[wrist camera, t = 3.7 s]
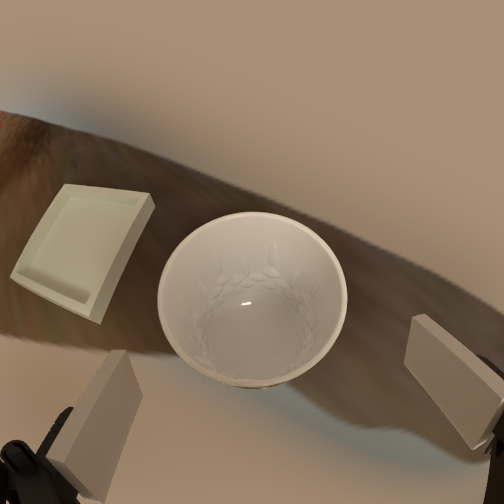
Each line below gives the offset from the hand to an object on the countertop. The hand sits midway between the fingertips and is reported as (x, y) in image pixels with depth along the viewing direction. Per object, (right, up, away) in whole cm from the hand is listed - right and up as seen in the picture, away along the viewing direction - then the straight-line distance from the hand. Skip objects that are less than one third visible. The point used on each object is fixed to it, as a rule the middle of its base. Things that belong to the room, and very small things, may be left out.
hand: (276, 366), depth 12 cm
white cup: (-1, -2, +9) cm, 9 cm away
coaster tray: (-18, +5, +13) cm, 23 cm away
